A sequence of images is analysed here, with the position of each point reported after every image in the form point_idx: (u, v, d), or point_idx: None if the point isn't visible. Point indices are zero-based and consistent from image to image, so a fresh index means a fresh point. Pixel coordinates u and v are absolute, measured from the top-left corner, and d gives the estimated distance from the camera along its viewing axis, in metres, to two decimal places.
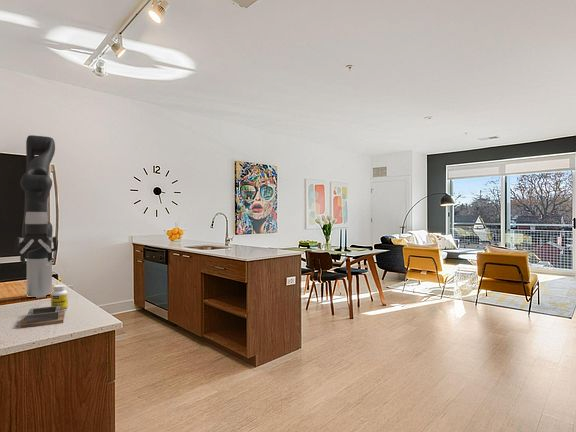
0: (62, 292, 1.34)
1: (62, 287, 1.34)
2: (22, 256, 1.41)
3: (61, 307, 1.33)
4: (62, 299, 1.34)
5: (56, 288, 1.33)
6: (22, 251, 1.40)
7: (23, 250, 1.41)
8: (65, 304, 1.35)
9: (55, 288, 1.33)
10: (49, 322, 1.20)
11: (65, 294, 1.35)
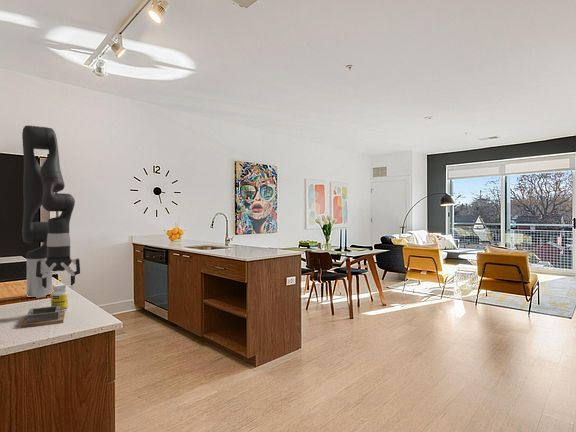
0: (62, 292, 1.34)
1: (62, 287, 1.34)
2: (44, 281, 1.31)
3: (61, 307, 1.33)
4: (62, 299, 1.34)
5: (56, 288, 1.33)
6: (44, 275, 1.31)
7: (45, 274, 1.31)
8: (65, 304, 1.35)
9: (55, 288, 1.33)
10: (49, 322, 1.20)
11: (65, 294, 1.35)
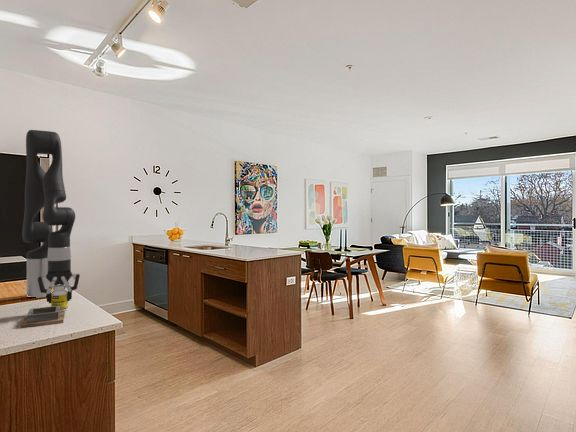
0: (62, 292, 1.34)
1: (62, 287, 1.34)
2: (48, 296, 1.33)
3: (61, 307, 1.33)
4: (62, 299, 1.34)
5: (56, 288, 1.33)
6: (48, 291, 1.32)
7: (49, 290, 1.32)
8: (65, 304, 1.35)
9: (55, 288, 1.33)
10: (49, 322, 1.20)
11: (65, 294, 1.35)
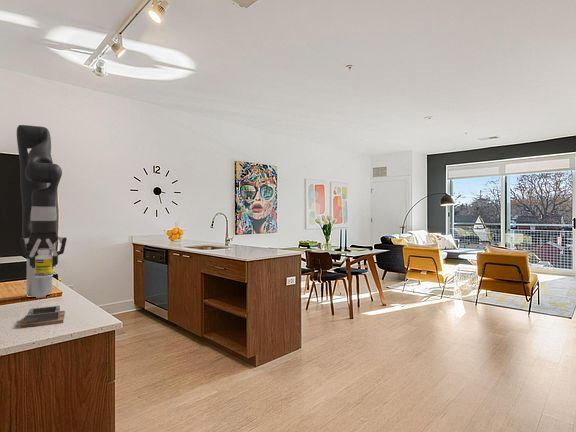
0: (47, 256, 1.22)
1: (47, 250, 1.22)
2: (32, 260, 1.21)
3: (46, 272, 1.22)
4: (47, 263, 1.22)
5: (40, 251, 1.21)
6: (32, 254, 1.20)
7: (32, 253, 1.21)
8: (50, 269, 1.23)
9: (39, 251, 1.21)
10: (49, 322, 1.20)
11: (50, 258, 1.23)
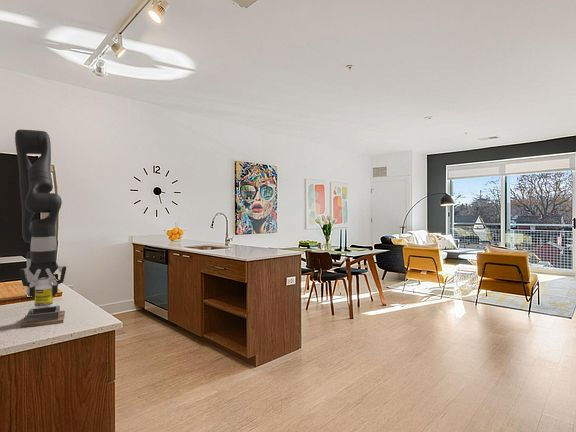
0: (47, 286, 1.22)
1: (47, 280, 1.22)
2: (32, 290, 1.21)
3: (46, 302, 1.22)
4: (47, 293, 1.22)
5: (39, 281, 1.21)
6: (32, 284, 1.21)
7: (32, 283, 1.21)
8: (50, 299, 1.23)
9: (39, 281, 1.21)
10: (49, 322, 1.20)
11: (50, 288, 1.23)
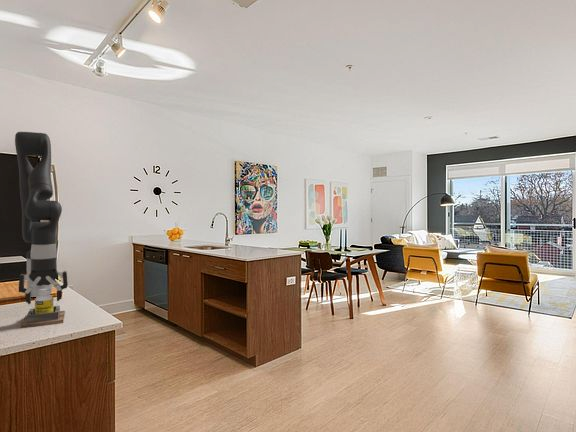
0: (47, 297, 1.22)
1: (47, 291, 1.23)
2: (27, 296, 1.20)
3: None
4: (47, 304, 1.22)
5: (40, 293, 1.22)
6: (27, 290, 1.20)
7: (29, 289, 1.20)
8: (50, 310, 1.23)
9: (39, 293, 1.22)
10: (49, 322, 1.20)
11: (50, 299, 1.23)
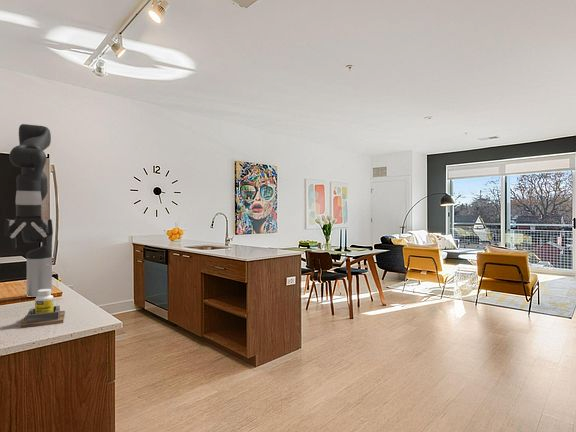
0: (47, 297, 1.22)
1: (47, 291, 1.23)
2: (13, 241, 1.24)
3: None
4: (47, 304, 1.22)
5: (40, 293, 1.22)
6: (13, 235, 1.24)
7: (14, 234, 1.24)
8: (50, 310, 1.23)
9: (39, 293, 1.22)
10: (49, 322, 1.20)
11: (50, 299, 1.23)
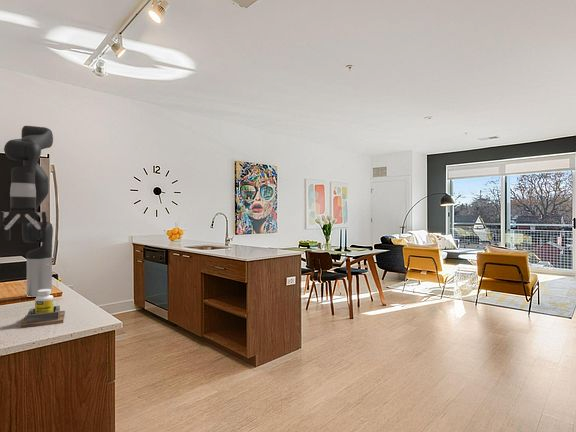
0: (47, 297, 1.22)
1: (47, 291, 1.23)
2: (7, 233, 1.25)
3: None
4: (47, 305, 1.22)
5: (40, 293, 1.22)
6: (7, 227, 1.25)
7: (8, 226, 1.25)
8: (50, 310, 1.23)
9: (39, 293, 1.22)
10: (49, 322, 1.20)
11: (50, 299, 1.23)
